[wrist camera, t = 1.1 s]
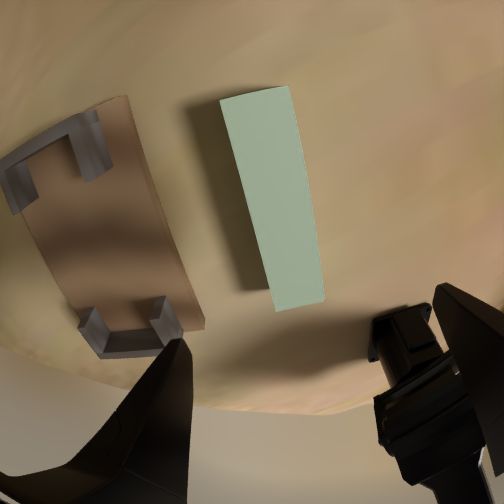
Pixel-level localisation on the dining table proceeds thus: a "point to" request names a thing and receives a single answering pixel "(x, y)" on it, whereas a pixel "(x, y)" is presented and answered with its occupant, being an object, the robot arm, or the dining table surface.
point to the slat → (277, 193)
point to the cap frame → (103, 231)
